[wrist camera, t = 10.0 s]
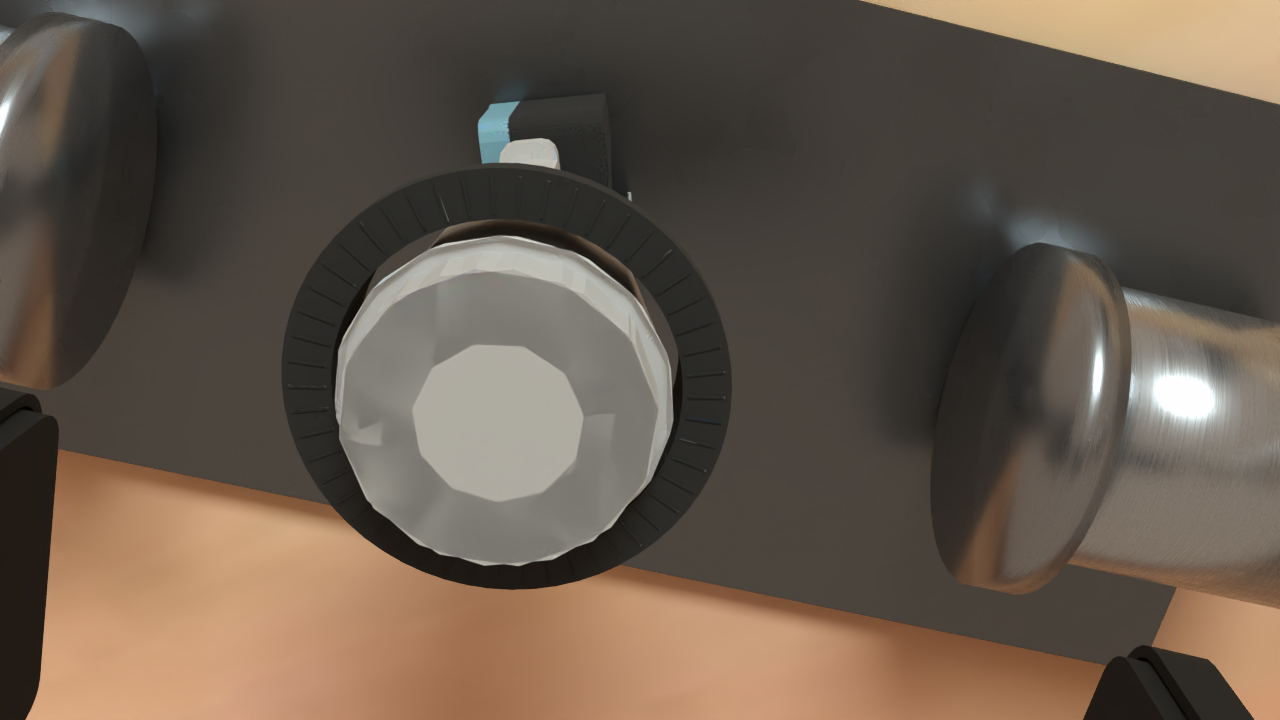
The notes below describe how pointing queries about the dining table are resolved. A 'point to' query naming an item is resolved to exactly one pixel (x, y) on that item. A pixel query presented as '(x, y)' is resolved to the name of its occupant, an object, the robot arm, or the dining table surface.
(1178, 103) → the plate with silver knobs
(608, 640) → the dining table surface
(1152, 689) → the robot arm
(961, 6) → the dining table surface
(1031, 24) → the dining table surface
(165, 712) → the dining table surface
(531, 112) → the push button
